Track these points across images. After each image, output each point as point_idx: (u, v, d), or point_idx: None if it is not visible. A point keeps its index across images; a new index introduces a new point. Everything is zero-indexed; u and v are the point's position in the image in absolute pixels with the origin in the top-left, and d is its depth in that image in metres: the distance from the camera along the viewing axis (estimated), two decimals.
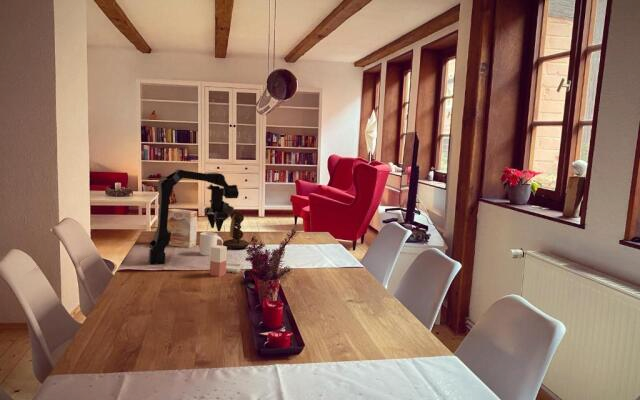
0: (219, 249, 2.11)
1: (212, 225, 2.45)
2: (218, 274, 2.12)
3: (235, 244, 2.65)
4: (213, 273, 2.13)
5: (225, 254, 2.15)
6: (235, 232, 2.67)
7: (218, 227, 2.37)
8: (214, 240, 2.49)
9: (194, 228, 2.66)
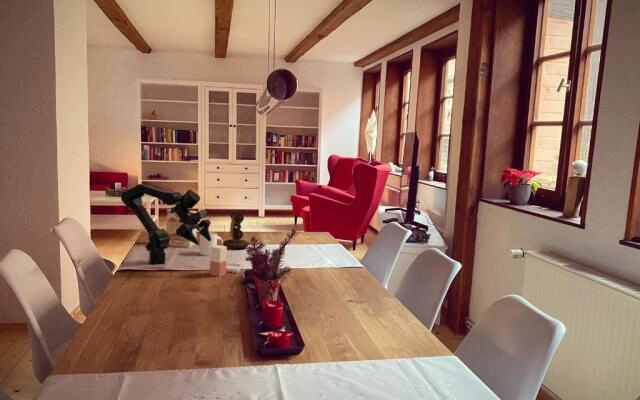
0: (219, 249, 2.11)
1: (208, 238, 2.22)
2: (218, 274, 2.12)
3: (235, 244, 2.65)
4: (213, 273, 2.13)
5: (225, 254, 2.15)
6: (235, 232, 2.67)
7: (193, 241, 2.13)
8: (214, 240, 2.49)
9: None
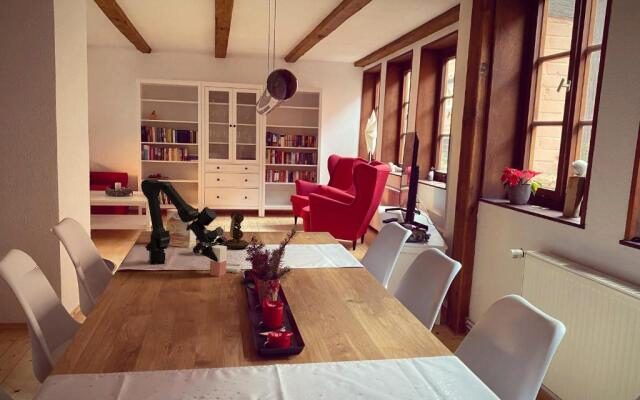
0: (219, 249, 2.11)
1: None
2: (218, 274, 2.12)
3: (235, 244, 2.65)
4: (213, 273, 2.13)
5: (225, 254, 2.15)
6: (235, 232, 2.67)
7: (212, 258, 2.12)
8: (214, 240, 2.49)
9: None
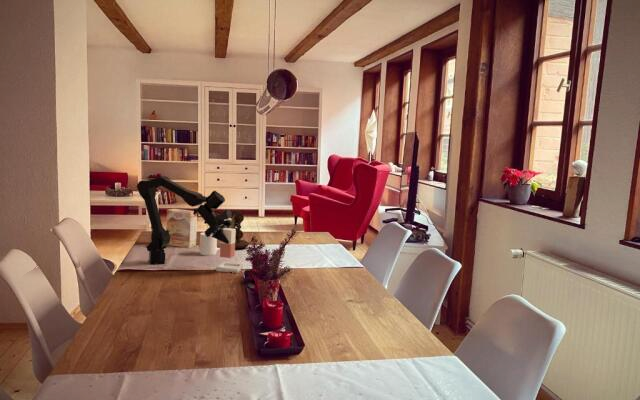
0: (230, 231, 2.17)
1: None
2: (229, 256, 2.18)
3: (235, 244, 2.65)
4: (223, 255, 2.18)
5: (234, 236, 2.21)
6: None
7: (223, 240, 2.17)
8: (214, 240, 2.49)
9: (194, 228, 2.66)
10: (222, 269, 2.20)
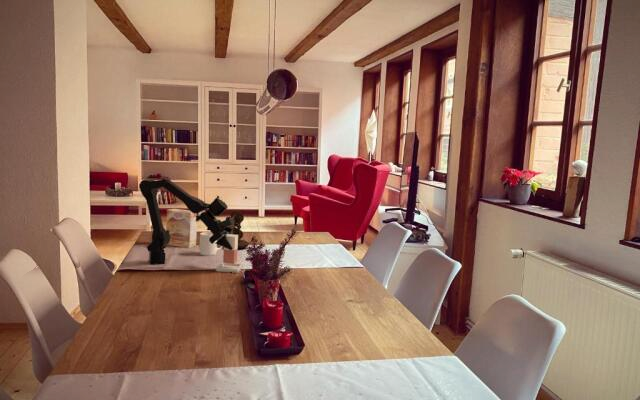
0: (234, 237, 2.20)
1: None
2: (232, 261, 2.22)
3: None
4: (227, 261, 2.22)
5: (237, 242, 2.25)
6: (235, 232, 2.67)
7: (227, 247, 2.20)
8: None
9: (194, 228, 2.66)
10: (222, 269, 2.20)
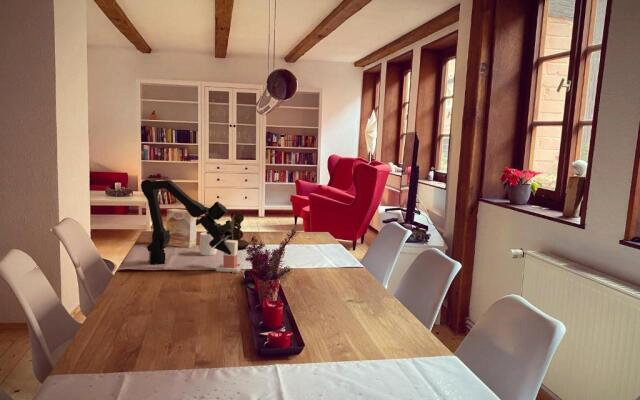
0: (233, 243, 2.21)
1: None
2: (232, 267, 2.22)
3: None
4: (227, 267, 2.22)
5: (237, 248, 2.25)
6: (235, 232, 2.67)
7: (226, 251, 2.19)
8: None
9: (194, 228, 2.66)
10: (222, 269, 2.20)
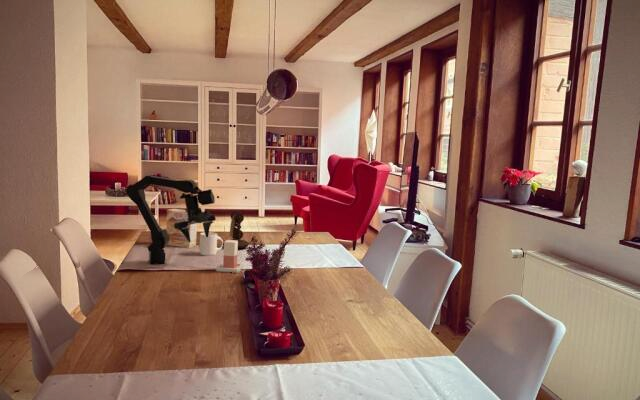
0: (233, 243, 2.21)
1: (206, 234, 2.30)
2: (232, 267, 2.22)
3: None
4: (227, 267, 2.22)
5: (237, 248, 2.25)
6: (235, 232, 2.67)
7: (186, 237, 2.24)
8: (214, 240, 2.49)
9: (194, 228, 2.66)
10: (222, 269, 2.20)
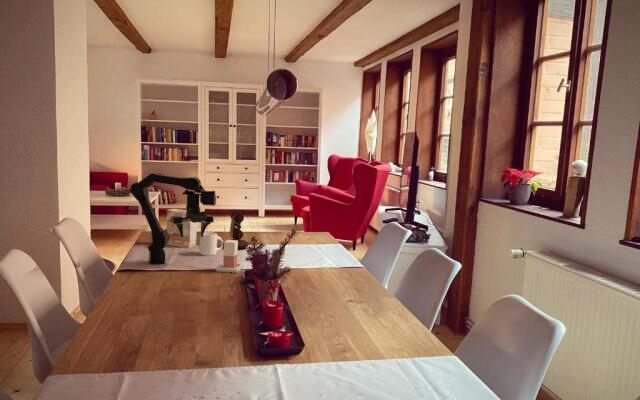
0: (233, 243, 2.21)
1: (201, 234, 2.30)
2: (232, 267, 2.22)
3: None
4: (227, 267, 2.22)
5: (237, 248, 2.25)
6: (235, 232, 2.67)
7: (180, 233, 2.25)
8: (214, 240, 2.49)
9: (194, 228, 2.66)
10: (222, 269, 2.20)
